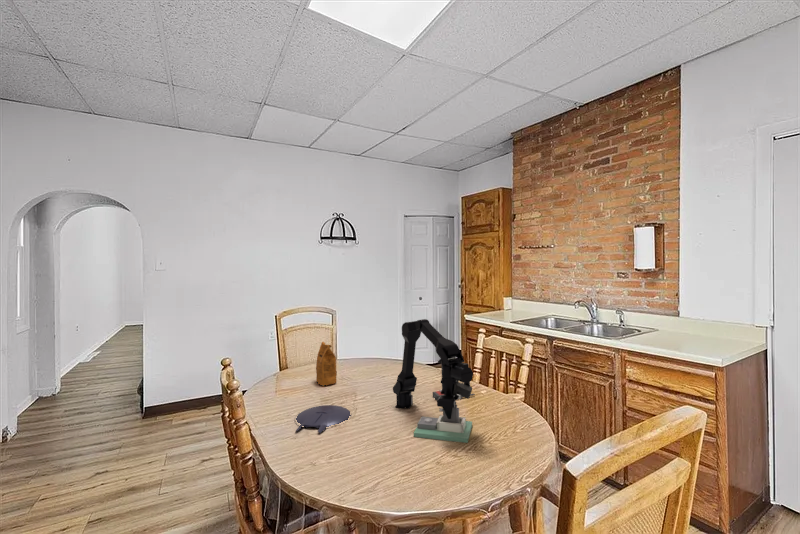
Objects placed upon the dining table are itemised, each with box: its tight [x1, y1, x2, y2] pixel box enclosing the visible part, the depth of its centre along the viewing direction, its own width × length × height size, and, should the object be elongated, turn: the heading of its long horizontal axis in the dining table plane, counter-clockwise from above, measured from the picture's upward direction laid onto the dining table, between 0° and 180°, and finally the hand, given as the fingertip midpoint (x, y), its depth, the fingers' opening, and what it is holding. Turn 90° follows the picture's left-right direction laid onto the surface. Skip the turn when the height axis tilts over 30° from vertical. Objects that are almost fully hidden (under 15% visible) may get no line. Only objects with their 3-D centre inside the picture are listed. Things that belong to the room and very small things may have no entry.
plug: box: [438, 404, 460, 423], centre depth 145 cm, size 7×3×7 cm, turn 73°
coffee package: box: [315, 341, 337, 387], centre depth 208 cm, size 10×12×22 cm
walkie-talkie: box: [432, 389, 476, 401], centre depth 182 cm, size 9×4×20 cm
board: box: [413, 414, 473, 444], centre depth 146 cm, size 20×15×4 cm
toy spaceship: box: [295, 404, 352, 434], centre depth 160 cm, size 28×24×3 cm
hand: (450, 417), depth 145 cm, fingers closed on plug, 3 cm apart
